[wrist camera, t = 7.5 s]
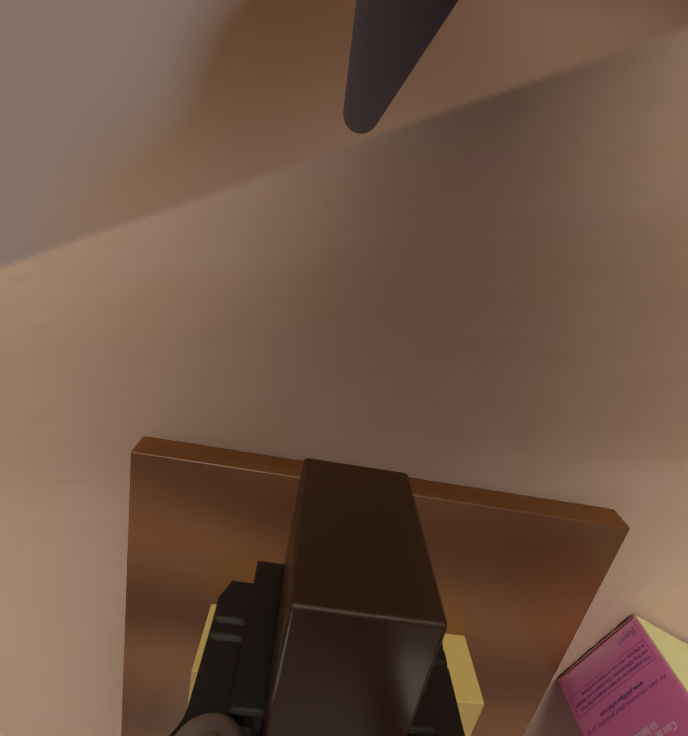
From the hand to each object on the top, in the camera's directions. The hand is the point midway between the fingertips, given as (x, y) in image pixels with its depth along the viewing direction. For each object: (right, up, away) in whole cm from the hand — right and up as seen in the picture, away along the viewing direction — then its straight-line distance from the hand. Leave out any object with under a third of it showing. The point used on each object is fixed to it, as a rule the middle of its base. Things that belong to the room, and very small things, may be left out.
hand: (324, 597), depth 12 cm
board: (+1, -7, +11) cm, 13 cm away
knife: (-1, -6, +2) cm, 6 cm away
